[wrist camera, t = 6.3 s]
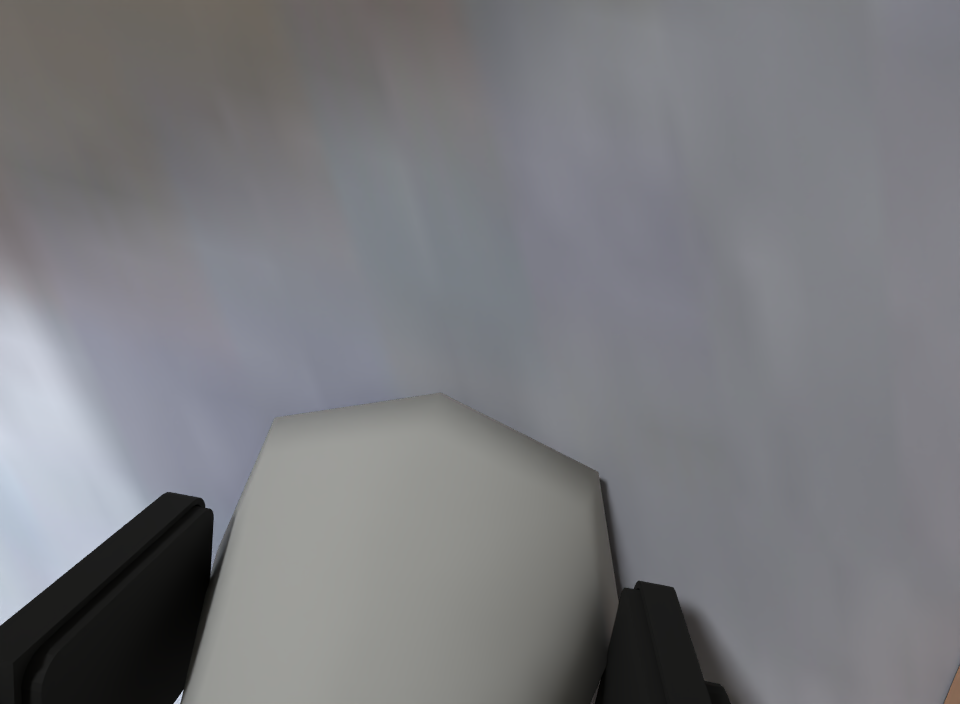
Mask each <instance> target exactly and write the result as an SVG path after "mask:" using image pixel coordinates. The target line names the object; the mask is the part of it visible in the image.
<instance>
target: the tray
mask: <svg viewBox="0 0 960 704" xmlns="http://www.w3.org/2000/svg"><path fill="white" fill-rule="evenodd" d="M944 704H960V666H959V668H958V671H957V673H956V676H955V678H954V680H953V683H952V685H951V688H950V690H949V692H948V695H947V697H946V700H945V702H944Z"/></svg>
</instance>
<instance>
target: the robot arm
mask: <svg viewBox="0 0 960 704" xmlns="http://www.w3.org/2000/svg"><path fill="white" fill-rule="evenodd" d="M213 520H214V517H213V511H212V510H211V509H208V508H205V503H204V500H203V499H202V498H198V497H193V496H188V495H182V494H177V493H172V492H166V493H165V494H163V495H162V496H160V497H159V498H158V499H157V500H155V501H154V502H153V503H152V504H150V505H149V506H148V507H147V508H145V509H144V510H143V511H142V512H141V513H139V514H138V515H137V516H136V517H134V518H133V519H132V520H131V521H129V522H128V523H127V524H126V525H124V526H123V527H122V528H121V529H120V530H118V531H117V532H116V533H115V534H113V535H112V536H111V537H110V538H108V539H107V540H106V541H105V542H103V543H102V544H101V545H100V546H98V547H97V548H96V549H95V550H94V551H92V552H91V553H90V554H89V555H87V556H86V557H85V558H84V559H82V560H81V561H80V562H79V563H77V564H76V565H75V566H74V567H72V568H71V569H70V570H69V571H68V572H66V573H65V574H64V575H63V576H61V577H60V578H59V579H58V580H56V581H55V582H54V583H53V584H51V585H50V586H49V587H48V588H47V589H45V590H44V591H43V592H42V593H40V594H39V595H38V596H37V597H35V598H34V599H33V600H32V601H30V602H29V603H28V604H27V605H25V606H24V607H23V608H22V609H21V610H19V611H18V612H17V613H16V614H14V615H13V616H12V617H11V618H9V619H8V620H7V621H6V622H4V623H3V624H2V625H1V626H0V704H174V702H175V701H176V699H177V698H178V697H179V695H180V694H181V692H182V691H183V690H184V686H185V682H186V678H187V673H188V669H189V664H190V660H191V656H192V651H193V647H194V642H195V638H196V634H197V629H198V625H199V620H200V616H201V612H202V607H203V603H204V598H205V594H206V590H207V587H208V584H209V581H210V574H211V556H212V538H213ZM595 704H731V703H730V701H729V698H728V695H727V693H726V691H725V689H724V687H722V686H721V685H720V684H717V683H712V682H707V681H704V678H703V675H702V672H701V669H700V666H699V663H698V660H697V657H696V654H695V650H694V647H693V644H692V641H691V638H690V635H689V632H688V629H687V626H686V623H685V619H684V616H683V613H682V610H681V607H680V604H679V601H678V598H677V595H676V592H675V590H674V588H673V587H669V586H664V585H659V584H654V583H648V582H643V581H638V582H637V583H636V585H635V587H634V589H630V588H623V590H622V593H621V596H620V601H619V605H618V609H617V613H616V617H615V622H614V626H613V630H612V634H611V638H610V643H609V647H608V652H607V665H606V668H605V670H604V672H603V674H602V677H601V681H600V685H599V689H598V693H597V697H596V702H595Z"/></svg>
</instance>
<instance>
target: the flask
mask: <svg viewBox="0 0 960 704" xmlns="http://www.w3.org/2000/svg"><path fill="white" fill-rule="evenodd" d="M618 605H619V601H618V595H617V589H616V582H615V576H614V569H613V563H612V556H611V550H610V544H609V537H608V531H607V524H606V518H605V511H604V505H603V499H602V492H601V486H600V479H599V473H598V472H597V471H595V470H593V469H591V468H589V467H587V466H585V465H583V464H581V463H579V462H577V461H575V460H573V459H571V458H569V457H567V456H565V455H563V454H561V453H560V452H558V451H556V450H554V449H552V448H550V447H548V446H546V445H544V444H542V443H540V442H538V441H536V440H534V439H532V438H530V437H528V436H526V435H524V434H522V433H520V432H518V431H516V430H514V429H512V428H510V427H508V426H506V425H504V424H502V423H500V422H498V421H496V420H494V419H492V418H490V417H488V416H486V415H484V414H482V413H480V412H478V411H476V410H474V409H472V408H470V407H468V406H466V405H464V404H462V403H460V402H458V401H456V400H454V399H452V398H450V397H448V396H446V395H444V394H442V393H435V394H429V395H422V396H415V397H409V398H402V399H396V400H389V401H382V402H376V403H369V404H362V405H356V406H349V407H342V408H336V409H329V410H322V411H316V412H309V413H302V414H296V415H289V416H282V417H276V418H274V421H273V423H272V425H271V428H270V430H269V432H268V435H267V437H266V439H265V441H264V444H263V446H262V448H261V451H260V453H259V455H258V458H257V460H256V462H255V465H254V467H253V469H252V472H251V474H250V476H249V478H248V481H247V483H246V485H245V488H244V490H243V492H242V495H241V497H240V499H239V502H238V504H237V506H236V508H235V511H234V513H233V515H232V518H231V520H230V522H229V525H228V527H227V529H226V532H225V534H224V536H223V538H222V541H221V543H220V545H219V548H218V550H217V553H216V557H215V560H214V564H213V567H212V571H211V574H210V581H209V584H208V587H207V590H206V594H205V598H204V603H203V607H202V612H201V616H200V620H199V625H198V629H197V634H196V638H195V642H194V647H193V651H192V656H191V660H190V664H189V669H188V673H187V678H186V682H185V686H184V691H183V695H182V700H181V703H180V704H590V702H591V700H592V697H593V695H594V693H595V690H596V688H597V686H598V684H599V681H600V679H601V677H602V674H603V672H604V670H605V668H606V665H607V652H608V647H609V643H610V638H611V634H612V630H613V626H614V622H615V617H616V613H617V609H618Z"/></svg>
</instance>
